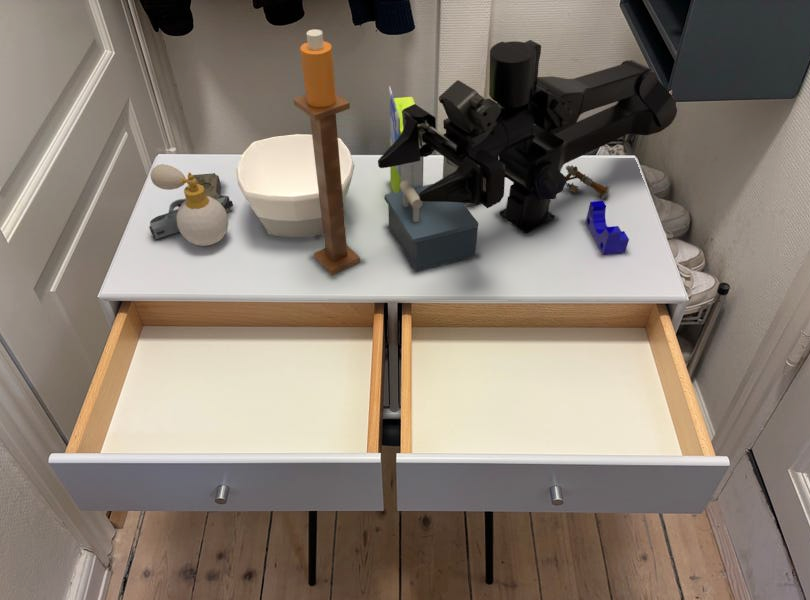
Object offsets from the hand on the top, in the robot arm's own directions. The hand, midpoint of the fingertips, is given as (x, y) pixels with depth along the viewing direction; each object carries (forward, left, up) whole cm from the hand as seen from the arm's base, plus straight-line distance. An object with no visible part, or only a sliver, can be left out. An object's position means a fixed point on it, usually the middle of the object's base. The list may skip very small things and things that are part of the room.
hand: (398, 180), depth 84 cm
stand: (+5, -9, -16) cm, 19 cm away
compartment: (-9, -4, -16) cm, 19 cm away
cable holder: (-31, +12, -16) cm, 37 cm away
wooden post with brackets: (-37, +2, -17) cm, 40 cm away
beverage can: (-21, -10, -16) cm, 28 cm away
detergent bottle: (+5, -9, +9) cm, 13 cm away
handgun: (+17, -41, -15) cm, 46 cm away
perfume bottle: (+19, -26, -16) cm, 36 cm away
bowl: (+4, -21, -16) cm, 27 cm away
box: (-12, -15, -16) cm, 25 cm away
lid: (-9, -4, -11) cm, 14 cm away
